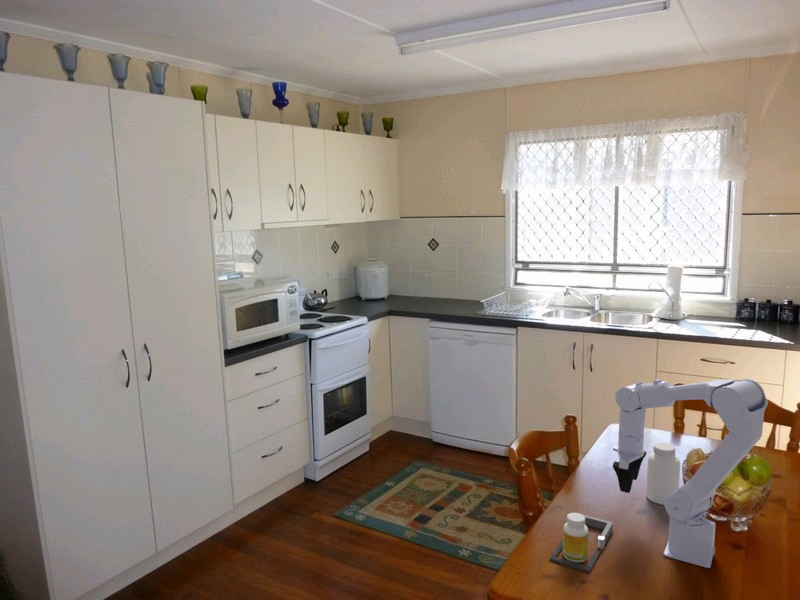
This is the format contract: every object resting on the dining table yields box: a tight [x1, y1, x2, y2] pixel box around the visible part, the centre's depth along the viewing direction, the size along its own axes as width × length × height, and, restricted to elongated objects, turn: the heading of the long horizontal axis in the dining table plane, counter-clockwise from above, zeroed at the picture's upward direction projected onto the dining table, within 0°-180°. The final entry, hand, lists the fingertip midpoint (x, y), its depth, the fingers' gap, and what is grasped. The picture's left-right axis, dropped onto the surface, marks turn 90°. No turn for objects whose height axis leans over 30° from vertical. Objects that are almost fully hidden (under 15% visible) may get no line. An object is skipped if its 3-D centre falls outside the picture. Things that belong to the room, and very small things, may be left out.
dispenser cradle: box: [581, 513, 614, 550], centre depth 146 cm, size 9×10×2 cm
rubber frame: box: [549, 539, 601, 574], centre depth 137 cm, size 9×8×1 cm
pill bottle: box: [645, 442, 681, 506], centre depth 161 cm, size 8×8×15 cm
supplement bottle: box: [562, 512, 589, 563], centre depth 137 cm, size 5×5×10 cm
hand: (628, 485), depth 149 cm, fingers open, 7 cm apart
